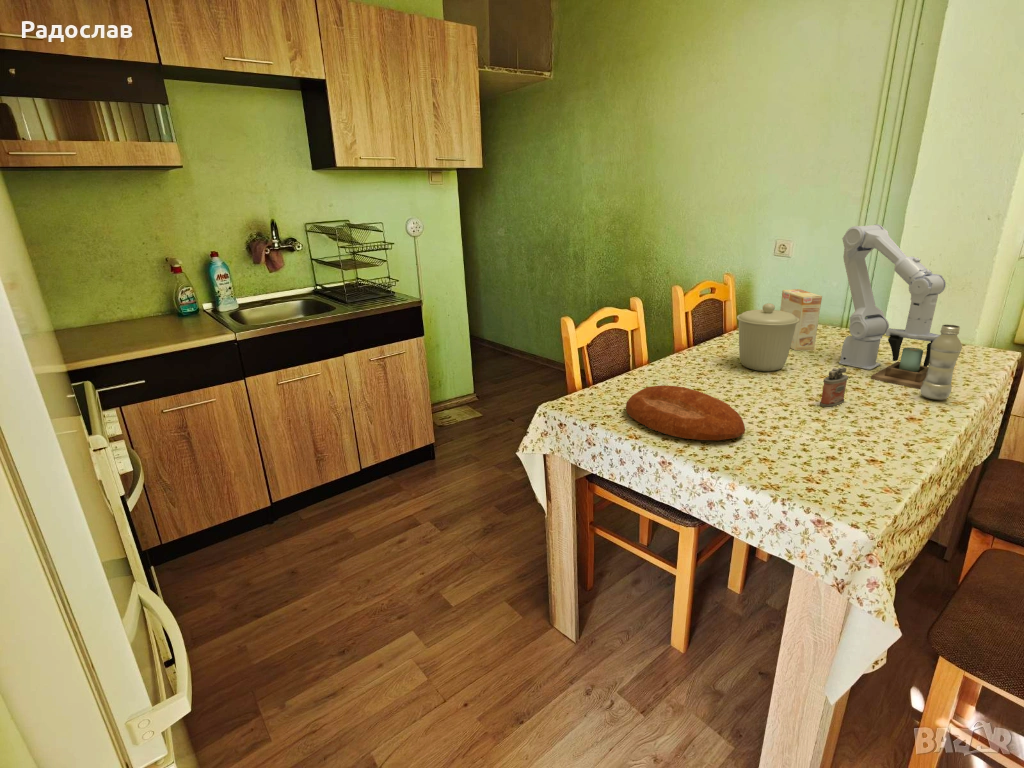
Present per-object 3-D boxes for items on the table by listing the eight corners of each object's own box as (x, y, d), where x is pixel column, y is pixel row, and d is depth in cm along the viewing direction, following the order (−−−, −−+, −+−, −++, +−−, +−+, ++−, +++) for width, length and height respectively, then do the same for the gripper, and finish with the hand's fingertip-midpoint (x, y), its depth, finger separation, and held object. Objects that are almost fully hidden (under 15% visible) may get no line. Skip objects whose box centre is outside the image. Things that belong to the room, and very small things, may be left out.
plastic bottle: (942, 394, 143) (960, 323, 136) (953, 403, 137) (972, 329, 130) (914, 393, 145) (930, 322, 138) (923, 401, 139) (941, 328, 132)
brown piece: (870, 378, 157) (872, 367, 156) (889, 368, 165) (891, 357, 164) (926, 390, 147) (929, 378, 145) (943, 378, 154) (946, 367, 153)
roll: (894, 375, 156) (900, 349, 153) (901, 372, 159) (906, 346, 156) (913, 379, 152) (919, 353, 150) (920, 375, 155) (926, 349, 152)
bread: (654, 396, 153) (655, 367, 150) (763, 426, 130) (767, 393, 127) (604, 419, 139) (605, 387, 136) (717, 457, 117) (720, 421, 114)
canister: (731, 373, 168) (738, 308, 161) (732, 357, 184) (738, 297, 177) (794, 377, 161) (804, 310, 154) (789, 360, 177) (798, 298, 170)
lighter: (828, 409, 138) (834, 373, 135) (816, 405, 141) (821, 369, 137) (847, 402, 141) (853, 367, 138) (834, 398, 144) (840, 364, 141)
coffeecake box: (814, 350, 187) (823, 295, 180) (794, 350, 187) (802, 296, 181) (794, 339, 201) (801, 288, 194) (775, 340, 201) (781, 289, 195)
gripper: (885, 316, 153) (876, 360, 157) (946, 324, 142) (935, 371, 146) (895, 312, 157) (886, 355, 161) (955, 319, 146) (944, 366, 150)
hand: (910, 363), depth 154 cm, fingers open, 7 cm apart
